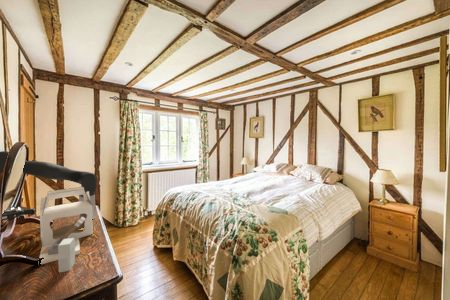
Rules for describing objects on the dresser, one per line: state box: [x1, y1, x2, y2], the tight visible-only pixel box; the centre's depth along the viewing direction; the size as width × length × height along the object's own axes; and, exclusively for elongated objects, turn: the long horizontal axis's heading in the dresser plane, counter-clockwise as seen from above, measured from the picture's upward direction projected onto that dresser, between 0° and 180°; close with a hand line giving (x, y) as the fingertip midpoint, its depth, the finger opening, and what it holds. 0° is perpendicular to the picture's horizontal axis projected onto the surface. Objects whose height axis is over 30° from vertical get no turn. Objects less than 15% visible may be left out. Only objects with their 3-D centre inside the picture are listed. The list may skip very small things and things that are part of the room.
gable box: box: [39, 186, 94, 247], centre depth 113 cm, size 22×13×28 cm, turn 137°
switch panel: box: [38, 237, 81, 265], centre depth 99 cm, size 14×15×6 cm
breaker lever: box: [57, 217, 85, 244], centre depth 100 cm, size 6×2×14 cm
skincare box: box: [57, 238, 76, 273], centre depth 87 cm, size 6×4×12 cm
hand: (35, 211), depth 94 cm, fingers closed
